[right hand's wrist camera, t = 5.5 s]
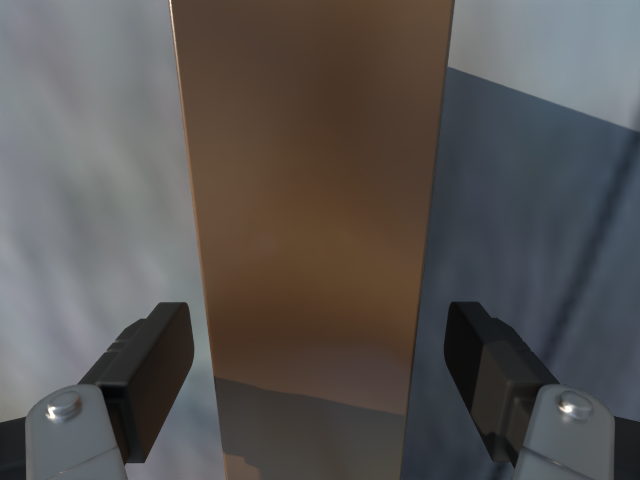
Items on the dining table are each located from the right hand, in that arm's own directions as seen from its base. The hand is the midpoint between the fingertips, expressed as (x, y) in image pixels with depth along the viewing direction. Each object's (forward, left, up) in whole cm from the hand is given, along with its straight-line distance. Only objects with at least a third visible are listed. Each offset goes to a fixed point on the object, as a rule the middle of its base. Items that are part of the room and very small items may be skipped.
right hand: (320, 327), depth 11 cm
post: (+19, +20, -4) cm, 28 cm away
